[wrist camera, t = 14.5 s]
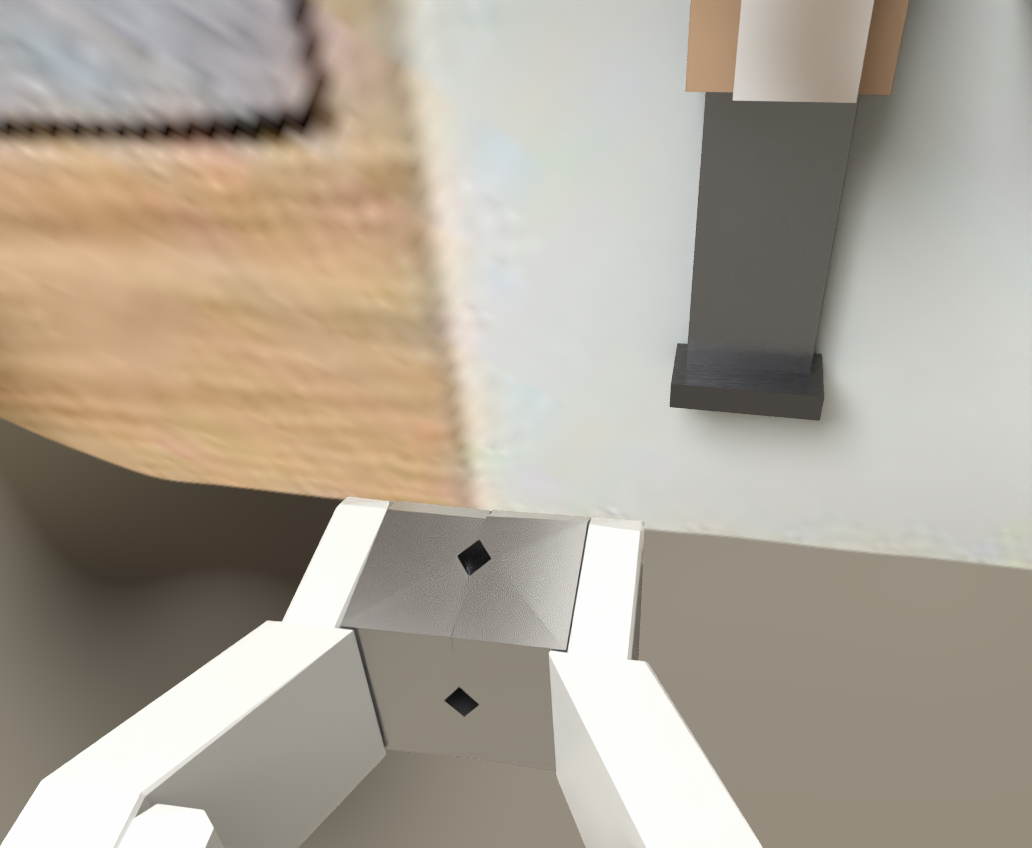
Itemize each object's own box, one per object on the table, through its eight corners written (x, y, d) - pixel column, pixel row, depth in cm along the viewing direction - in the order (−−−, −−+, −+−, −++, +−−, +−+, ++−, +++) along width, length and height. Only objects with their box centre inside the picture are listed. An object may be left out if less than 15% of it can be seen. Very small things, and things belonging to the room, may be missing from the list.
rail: (675, 365, 40) (669, 407, 38) (722, -360, 25) (715, -365, 23) (817, 377, 39) (819, 420, 37) (956, -380, 24) (974, -386, 22)
